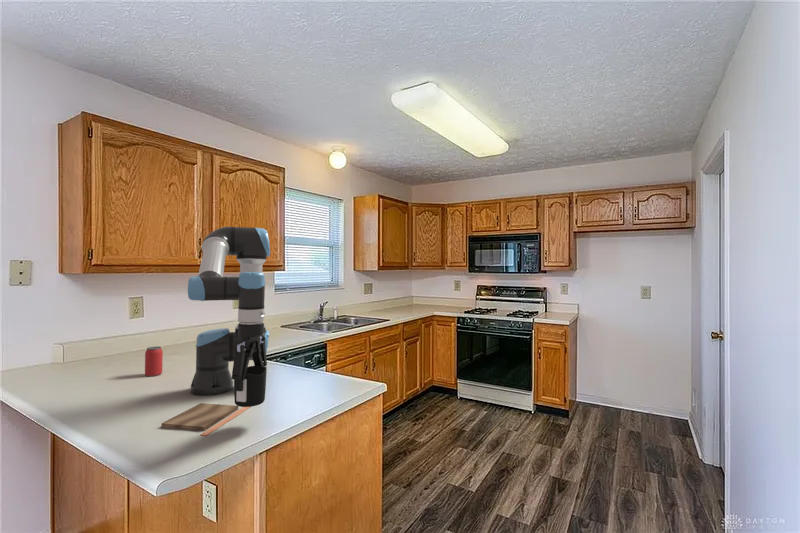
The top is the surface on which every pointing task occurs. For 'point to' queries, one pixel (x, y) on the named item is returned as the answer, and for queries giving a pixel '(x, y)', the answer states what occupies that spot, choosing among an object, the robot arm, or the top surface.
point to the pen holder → (253, 386)
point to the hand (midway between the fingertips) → (249, 395)
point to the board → (200, 417)
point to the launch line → (223, 422)
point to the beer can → (153, 361)
